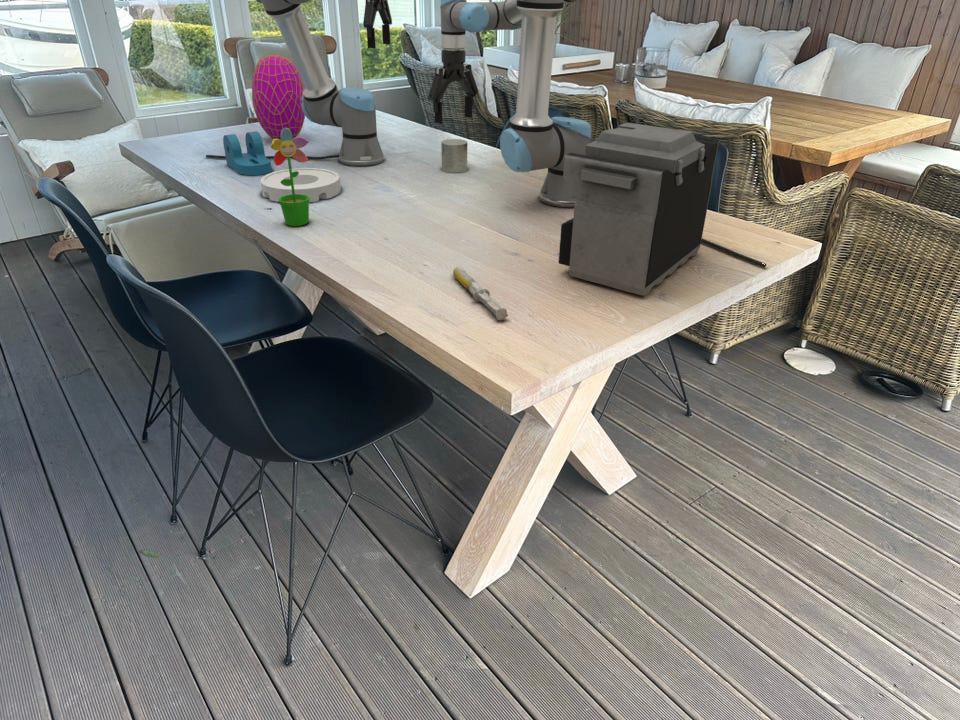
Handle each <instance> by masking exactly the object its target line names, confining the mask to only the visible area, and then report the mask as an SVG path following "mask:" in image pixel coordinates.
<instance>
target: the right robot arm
mask: <svg viewBox="0 0 960 720" xmlns="http://www.w3.org/2000/svg"><path fill="white" fill-rule="evenodd" d="M575 1H577V0H503V1H480V2H479V1H477V2H476V1H475V2H471V1H467V0H440V6H439V9H440V33H441V34H440V41H441V42H440V43H441V44H440V46H441V48H442V50H441V52H440V53H441V56H440V58H441V59H440V60H441V63H442V65H443V66H442V67H435V68H434V76H433V79H432V82H431V87H430V89H429V92H428V95H427V100H428V101H430V102H432V107H433V108H432V109H433V110H432V111H433V113H434V123H435V124H440V125H442V124H443V102H442V101H441V100H442V98H443V96H444V94H445V93H446V91H447V89H448V87H449V85H450V84H451V83H455V82H458V83H459V85H460V87H461V88H462V90H463V91H464V92H465V94H466V95H465V96H464V117H465V118H469V119H473V107H474V98H475V97H476V96H477V95H478V93H479V89H478V86H477V83H476V80H475V77H474V75H473V70H472V65H471V64H470V63H466V50H465V48H466V41H467V39H466V38H467V37H466V33H467V32H469V33H481V32H483V31H504V30H506V31H508V30H510V31H515V30H520V40H519V41H520V42H519V56H518V74H517V91H516V105H515V106H516V108H515V113H514V114H513V115H512V116H511V117H510V119H509V127H508V128H506V129H504V130H503V131H502V133H501V134H500V138H499V149H500V153H501V157H502V159H503V161H504V162H505V165H506V166H507V168H509V169H510V170H511V171H512V172H515V173H524V172H525V173H529V172H532V171H538V170H545V169H547V173H546V176H545V178H544V181H543V184H542V187H541V189H540V192H539V200H540V202H542V203H543V204H546V205H549V206H553V207H558V208H559V207H560V208H574V206H575V201H576V198H575V196H574V195H573V193H572V191H571V189H570V188H569V186H568V184H567V183H566V181H565V179H564V178H563V173H564V159H565V155H567V154H569V153H575V154H580V155H585V148H586V145H587V144H590V143H592V137H593V136H592V125H591V124H590V123H589V122H588V121H586V120H583V119H579V118H574V117H567V116H553V117H550V116H549V107H550V95H551V94H550V93H551V84H552V83H551V82H552V70H553V61H554V60H553V59H554V49H555V48H554V47H555V38H556V37H555V36H556V24H557V16H558V15H559V14H560V13H561V12H562V11H563V10H564V3H573V2H575ZM701 244H704V245H707V246H709V247H712V248H714V249H717V250H719V251H722V252H724V253H727V254H728V255H731V256H734V257H735V258H738V259H740V260H744V261H746V262H749V263H751V264H754V265H756V266H759V267H762V268H766V267H767V263H765V262H763V261H760V260H758V259H755V258H752V257H749V256H747V255H744V254H741V253H739V252H736V251H734V250H732V249H729V248H728V247H724V246H722V245H719V244H718V243H715V242H712V241H710V240H707V239H705V238H702V240H701ZM762 263H764V264H765V265H764V264H762Z"/></svg>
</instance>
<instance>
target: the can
mask: <svg viewBox="0 0 960 720" xmlns="http://www.w3.org/2000/svg"><path fill="white" fill-rule="evenodd" d="M440 151H441V152H440V153H441V156H440V157H441V171H443V172H444V173H445V172H446V173H451V174H457V173H464V172H466V171H468V140H465V139H462V138H448V139H447V138H446V139H443V140H441V142H440Z"/></svg>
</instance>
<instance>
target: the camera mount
mask: <svg viewBox="0 0 960 720" xmlns="http://www.w3.org/2000/svg"><path fill="white" fill-rule="evenodd" d="M222 140H223V141H222V143H223V149H224V150H223V151H224V156H226V159H225V161H226V165H227V166H228V167H230V168H231V169H232V170H234V171H236V172H237V173H238V174H239V175H244V176H260V175H267V174H270V173H271V172H272V164H271V159H268V158H266V156H267V155H266V153H265V145H264V141H263V139H262V136H261V134H260V132H258V131H247V132H246V133H245V146H246V152H243V151H242V150H243V149H242V146H241V142H240V140H239V138H238V135H236V134H235V133H231V134H224V135H223V138H222Z"/></svg>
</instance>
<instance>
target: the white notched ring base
mask: <svg viewBox="0 0 960 720" xmlns="http://www.w3.org/2000/svg"><path fill="white" fill-rule="evenodd" d="M294 171H297V172H299V174H298V175H297V176H296V177H294V178H293V183H294V191H295V194H304V195H307V196H309V203H315V202H319V201H320V200H328V199H332V198H333V197H335V196H337V195H339V194H340V193H341V190H342V188H341V187H342V185H341V176H340V174H339V173H338V172H336V171H333V170H330V169H326V168H318V167H295V168H292V172H294ZM283 179H290V173H289V168H287V169H281V170H277V171H276V170H275V171H273V172H272V171H271V172H269V173H266V174H264V175H263V176H262V177H261V178H260V187H261V188H260V189H261V194H262V196H263V198H266V199H267V198H268V199H269V201H272V202H276V203H279V198H280V197H282V196H285V195H290V194H292V188H291V186H284V185H282V184H281V181H282V180H283Z"/></svg>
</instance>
